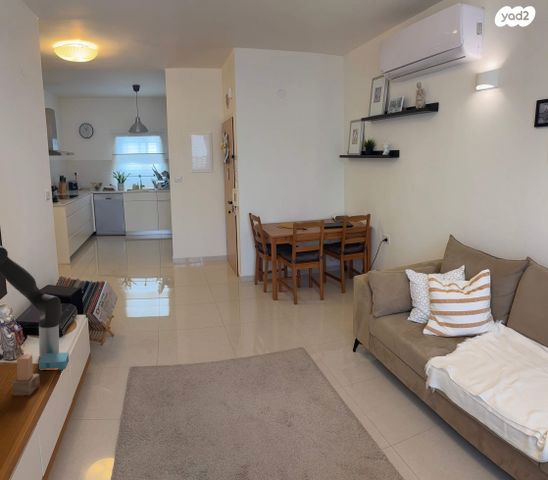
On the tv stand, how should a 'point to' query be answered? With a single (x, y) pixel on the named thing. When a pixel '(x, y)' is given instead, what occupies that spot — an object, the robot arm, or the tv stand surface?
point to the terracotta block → (24, 367)
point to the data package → (54, 360)
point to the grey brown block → (25, 385)
